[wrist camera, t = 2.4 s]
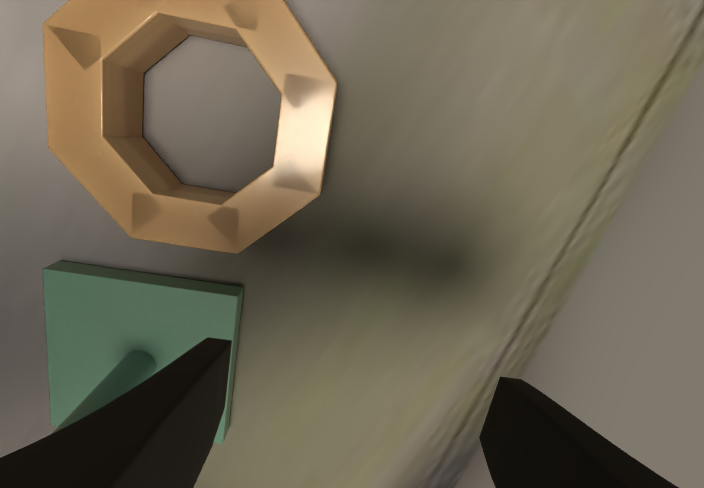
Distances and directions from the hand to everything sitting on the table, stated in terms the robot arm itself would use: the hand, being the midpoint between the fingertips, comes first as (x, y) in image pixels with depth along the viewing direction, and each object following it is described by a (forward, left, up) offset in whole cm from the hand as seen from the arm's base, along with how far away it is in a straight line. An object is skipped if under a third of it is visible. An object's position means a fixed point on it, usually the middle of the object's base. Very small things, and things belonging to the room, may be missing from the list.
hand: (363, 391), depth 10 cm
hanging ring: (-7, +6, -10) cm, 13 cm away
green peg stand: (-10, -6, -10) cm, 15 cm away
